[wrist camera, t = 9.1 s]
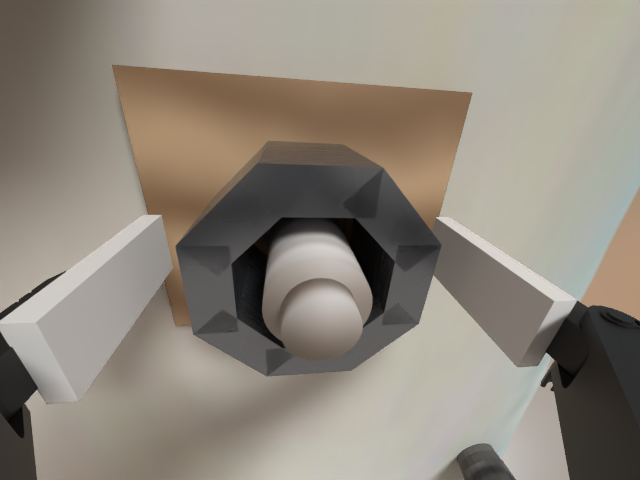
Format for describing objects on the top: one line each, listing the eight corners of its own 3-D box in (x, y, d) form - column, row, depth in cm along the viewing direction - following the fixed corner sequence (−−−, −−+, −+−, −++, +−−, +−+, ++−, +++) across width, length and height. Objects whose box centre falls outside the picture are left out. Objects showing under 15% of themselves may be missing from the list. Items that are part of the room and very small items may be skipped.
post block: (127, 69, 12) (-238, -27, 4) (457, 94, 14) (709, 70, 6) (182, 312, 18) (95, 485, 10) (405, 304, 20) (489, 439, 12)
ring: (212, 137, 12) (157, 159, 7) (392, 146, 13) (463, 170, 8) (230, 291, 16) (202, 380, 11) (368, 287, 17) (406, 366, 12)
